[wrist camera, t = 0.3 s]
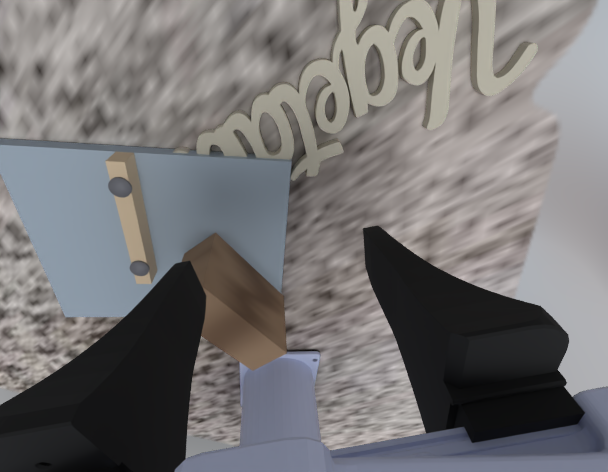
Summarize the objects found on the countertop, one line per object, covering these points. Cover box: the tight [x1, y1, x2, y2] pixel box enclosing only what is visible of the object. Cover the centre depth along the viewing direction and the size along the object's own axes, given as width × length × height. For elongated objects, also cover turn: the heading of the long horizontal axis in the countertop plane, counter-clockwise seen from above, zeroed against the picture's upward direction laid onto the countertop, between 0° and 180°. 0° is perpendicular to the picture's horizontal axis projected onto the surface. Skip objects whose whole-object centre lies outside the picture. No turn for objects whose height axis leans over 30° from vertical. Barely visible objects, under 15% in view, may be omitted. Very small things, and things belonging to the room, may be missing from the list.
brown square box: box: [182, 232, 287, 371], centre depth 23 cm, size 8×3×6 cm, turn 34°
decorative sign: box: [173, 0, 538, 181], centre depth 19 cm, size 26×1×10 cm
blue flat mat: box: [0, 138, 292, 317], centre depth 23 cm, size 14×17×3 cm
